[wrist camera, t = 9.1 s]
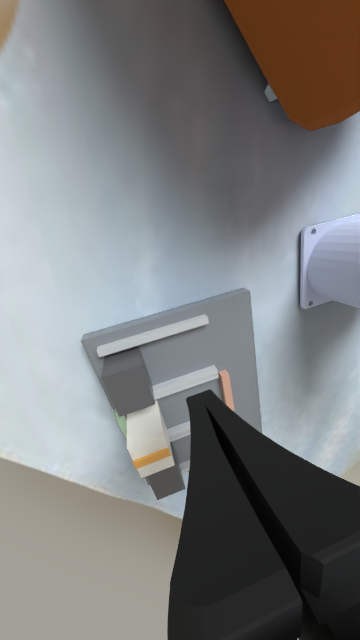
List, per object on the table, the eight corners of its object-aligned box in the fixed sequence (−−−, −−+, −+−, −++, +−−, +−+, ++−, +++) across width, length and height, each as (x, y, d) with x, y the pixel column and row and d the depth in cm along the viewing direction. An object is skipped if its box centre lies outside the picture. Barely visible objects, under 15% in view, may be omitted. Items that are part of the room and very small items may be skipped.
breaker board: (243, 287, 20) (270, 299, 17) (257, 431, 28) (277, 461, 25) (83, 334, 18) (73, 360, 15) (147, 474, 26) (151, 515, 23)
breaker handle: (156, 399, 21) (164, 436, 17) (166, 428, 22) (175, 467, 19) (126, 410, 20) (126, 450, 17) (138, 438, 22) (141, 480, 18)
